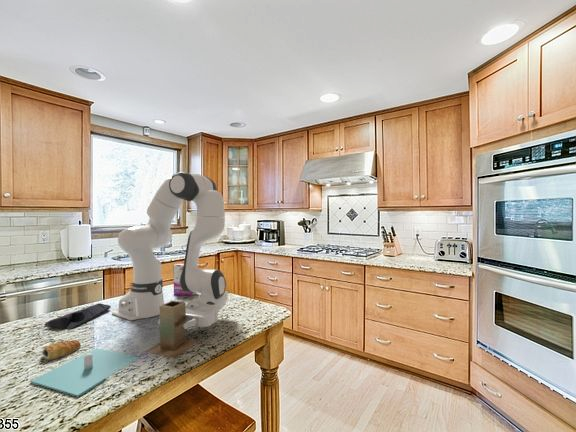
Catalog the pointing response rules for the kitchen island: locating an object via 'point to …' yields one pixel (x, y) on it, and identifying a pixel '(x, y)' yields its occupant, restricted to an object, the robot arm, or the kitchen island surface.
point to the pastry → (60, 349)
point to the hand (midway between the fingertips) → (171, 324)
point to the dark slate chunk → (77, 317)
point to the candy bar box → (177, 273)
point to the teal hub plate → (84, 372)
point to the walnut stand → (172, 354)
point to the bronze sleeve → (172, 325)
